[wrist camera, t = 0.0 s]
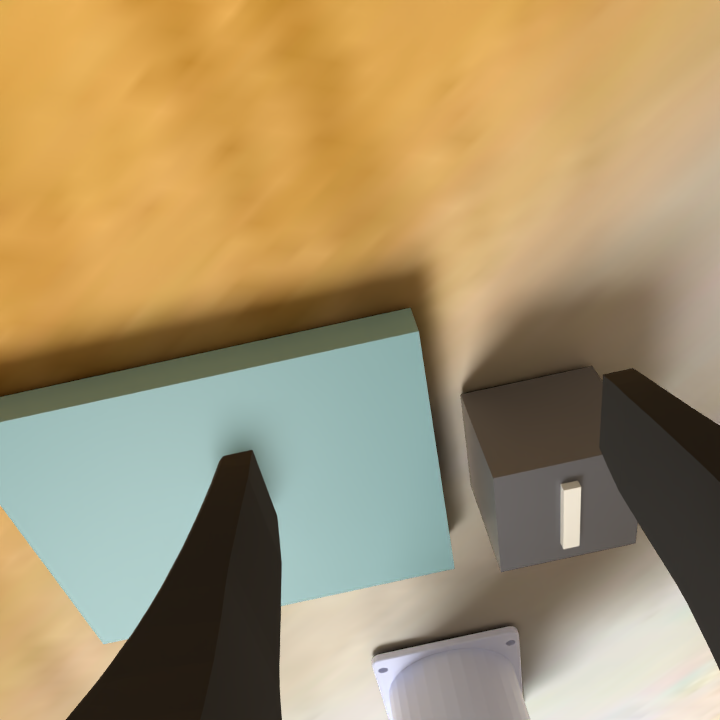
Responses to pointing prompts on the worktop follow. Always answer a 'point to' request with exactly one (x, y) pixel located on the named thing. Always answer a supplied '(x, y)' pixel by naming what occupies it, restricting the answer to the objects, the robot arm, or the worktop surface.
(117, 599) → the base
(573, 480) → the grey drawer cube
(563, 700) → the worktop surface
